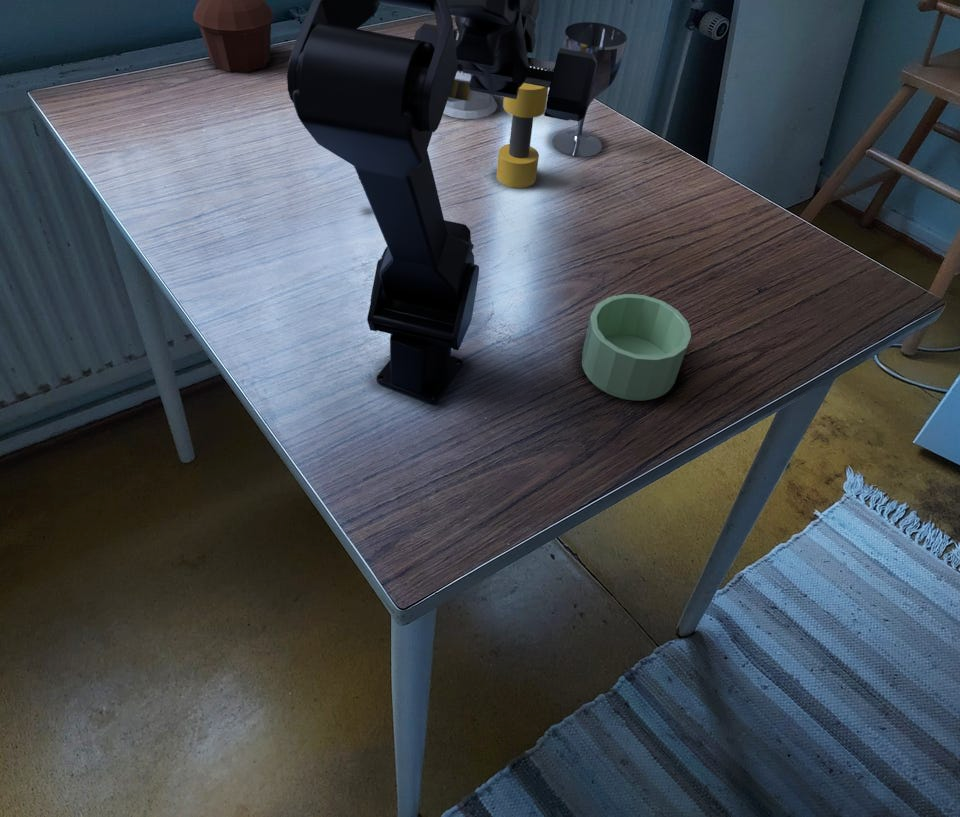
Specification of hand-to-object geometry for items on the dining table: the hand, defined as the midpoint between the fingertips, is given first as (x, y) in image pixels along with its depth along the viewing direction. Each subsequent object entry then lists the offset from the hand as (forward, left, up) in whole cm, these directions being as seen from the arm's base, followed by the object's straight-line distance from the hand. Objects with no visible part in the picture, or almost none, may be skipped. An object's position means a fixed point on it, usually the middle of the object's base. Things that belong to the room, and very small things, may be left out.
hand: (508, 104), depth 88 cm
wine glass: (+21, -3, -14) cm, 25 cm away
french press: (+24, +15, -14) cm, 31 cm away
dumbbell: (+8, +1, -13) cm, 16 cm away
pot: (-20, -23, -13) cm, 33 cm away
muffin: (+18, +51, -14) cm, 56 cm away
